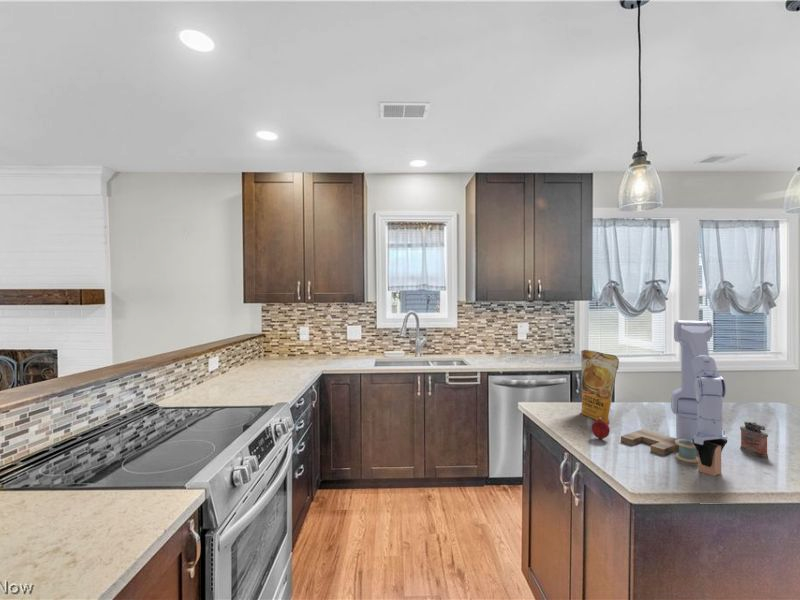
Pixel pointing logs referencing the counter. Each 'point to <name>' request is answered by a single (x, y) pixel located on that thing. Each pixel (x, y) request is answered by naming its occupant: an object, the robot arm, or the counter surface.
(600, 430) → the onion
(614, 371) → the pancake mix bag
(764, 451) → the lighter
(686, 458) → the spool
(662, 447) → the notched board
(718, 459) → the peg
